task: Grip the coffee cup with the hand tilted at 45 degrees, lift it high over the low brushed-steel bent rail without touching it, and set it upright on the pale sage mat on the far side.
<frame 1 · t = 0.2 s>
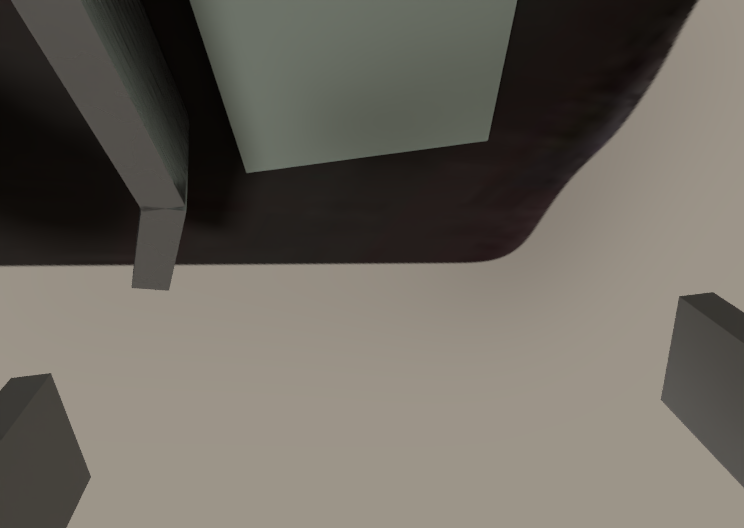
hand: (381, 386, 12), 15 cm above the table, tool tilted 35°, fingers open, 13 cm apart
bent rail: (85, 28, 19), on the table
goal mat: (362, 44, 22), on the table
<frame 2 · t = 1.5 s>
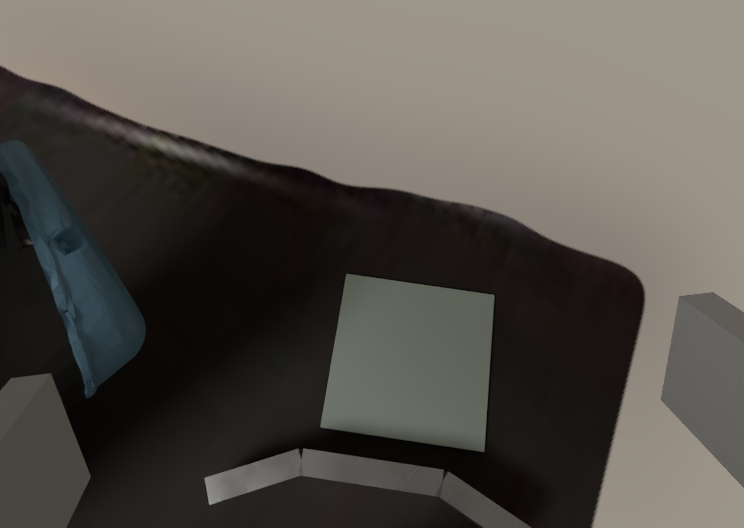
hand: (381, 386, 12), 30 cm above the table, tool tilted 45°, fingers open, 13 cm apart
bent rail: (366, 494, 38), on the table
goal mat: (411, 358, 42), on the table
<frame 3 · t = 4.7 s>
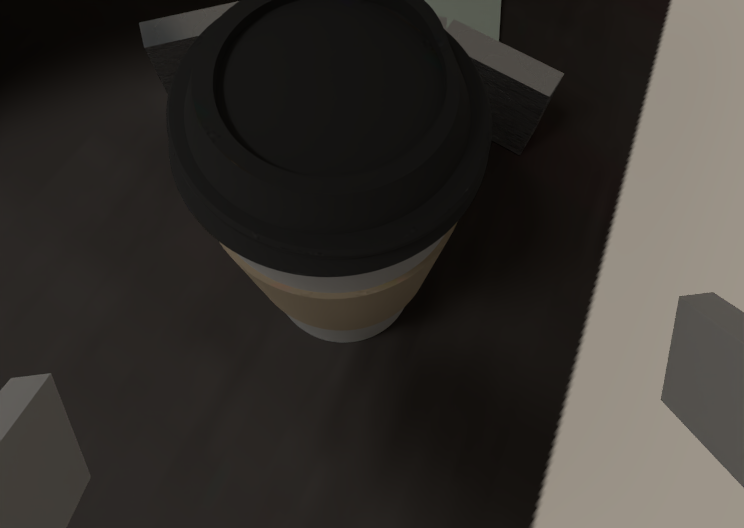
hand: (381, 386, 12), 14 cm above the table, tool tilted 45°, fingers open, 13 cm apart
bent rail: (351, 108, 31), on the table
coffee cup: (342, 276, 27), on the table
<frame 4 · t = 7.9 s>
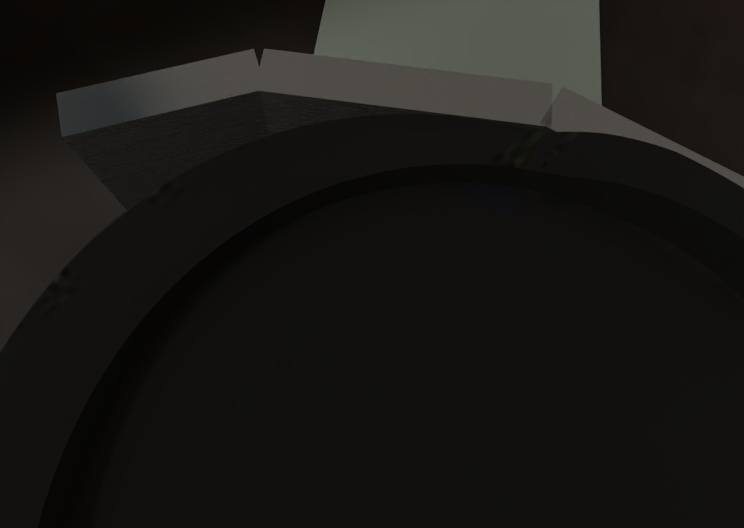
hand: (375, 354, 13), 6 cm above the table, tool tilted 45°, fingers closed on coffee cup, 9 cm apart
bent rail: (389, 205, 21), on the table
coffee cup: (383, 492, 17), on the table, touching gripper
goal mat: (461, 13, 24), on the table
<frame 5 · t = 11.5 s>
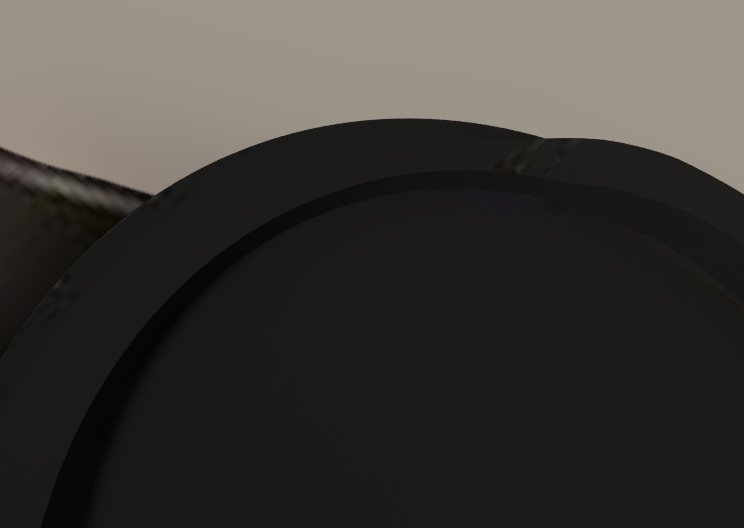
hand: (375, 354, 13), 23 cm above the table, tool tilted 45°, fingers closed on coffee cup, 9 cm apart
coffee cup: (383, 494, 17), point 17 cm above the table, touching gripper
when the fingers open (7 cm above the table, at t = 15.6 s): coffee cup stays where it is, resting on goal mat.
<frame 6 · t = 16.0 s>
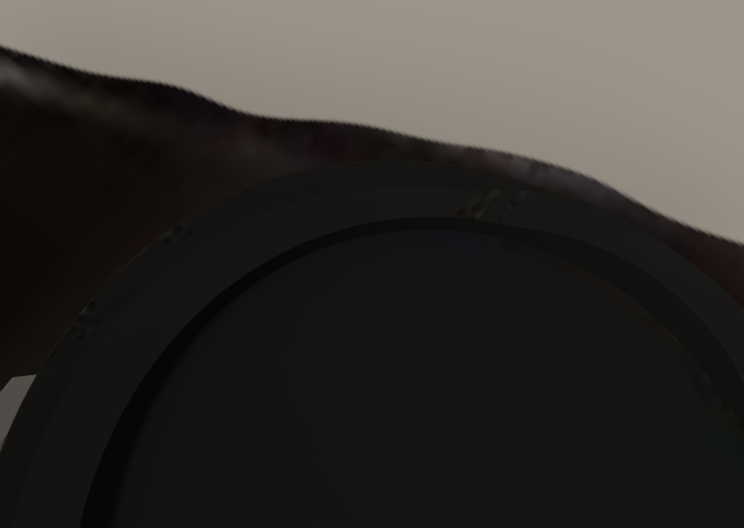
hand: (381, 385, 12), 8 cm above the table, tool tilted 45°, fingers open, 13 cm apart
coffee cup: (378, 493, 18), resting on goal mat
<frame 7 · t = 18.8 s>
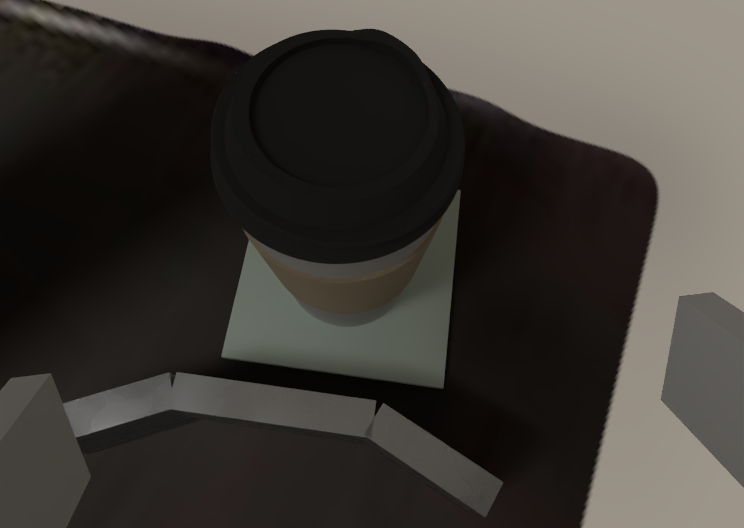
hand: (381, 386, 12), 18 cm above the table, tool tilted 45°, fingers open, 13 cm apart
bent rail: (281, 445, 28), on the table
coffee cup: (346, 270, 31), resting on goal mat
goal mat: (348, 270, 31), on the table
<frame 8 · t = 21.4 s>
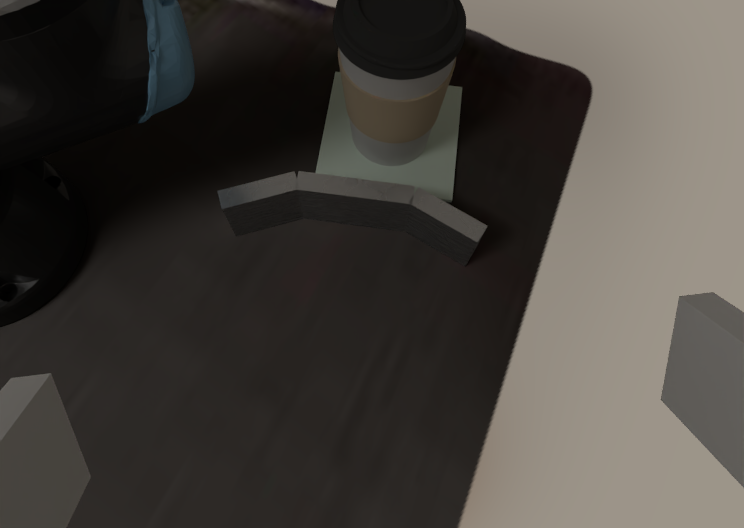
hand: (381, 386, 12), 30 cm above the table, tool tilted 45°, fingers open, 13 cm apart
bent rail: (352, 232, 45), on the table
coffee cup: (389, 134, 49), resting on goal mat
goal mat: (390, 135, 49), on the table
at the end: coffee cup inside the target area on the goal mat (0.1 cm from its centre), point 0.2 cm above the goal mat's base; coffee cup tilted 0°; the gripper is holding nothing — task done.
